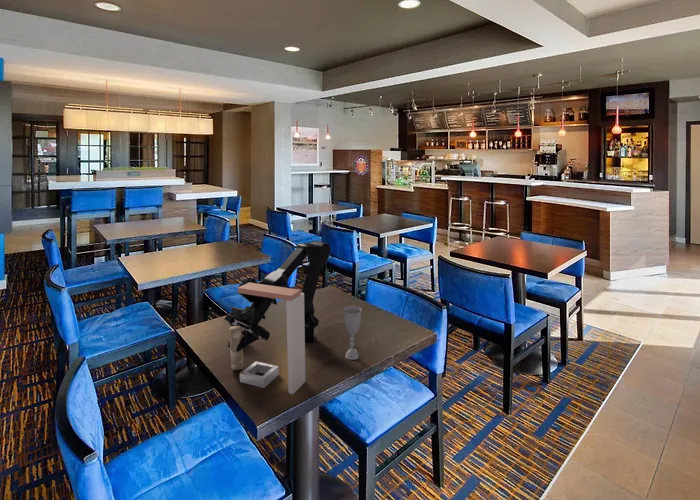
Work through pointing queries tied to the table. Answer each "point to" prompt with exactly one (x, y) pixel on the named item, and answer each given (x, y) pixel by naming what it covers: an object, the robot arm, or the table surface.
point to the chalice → (352, 327)
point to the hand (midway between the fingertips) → (232, 349)
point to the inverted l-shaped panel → (288, 327)
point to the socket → (256, 380)
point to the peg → (235, 339)
